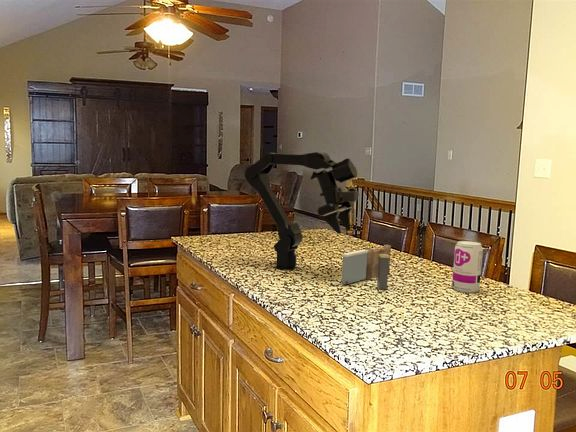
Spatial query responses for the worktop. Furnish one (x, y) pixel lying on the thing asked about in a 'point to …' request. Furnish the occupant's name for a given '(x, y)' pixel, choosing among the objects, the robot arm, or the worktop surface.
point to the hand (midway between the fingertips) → (344, 231)
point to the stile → (383, 271)
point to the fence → (375, 261)
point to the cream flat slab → (354, 266)
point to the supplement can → (467, 266)
